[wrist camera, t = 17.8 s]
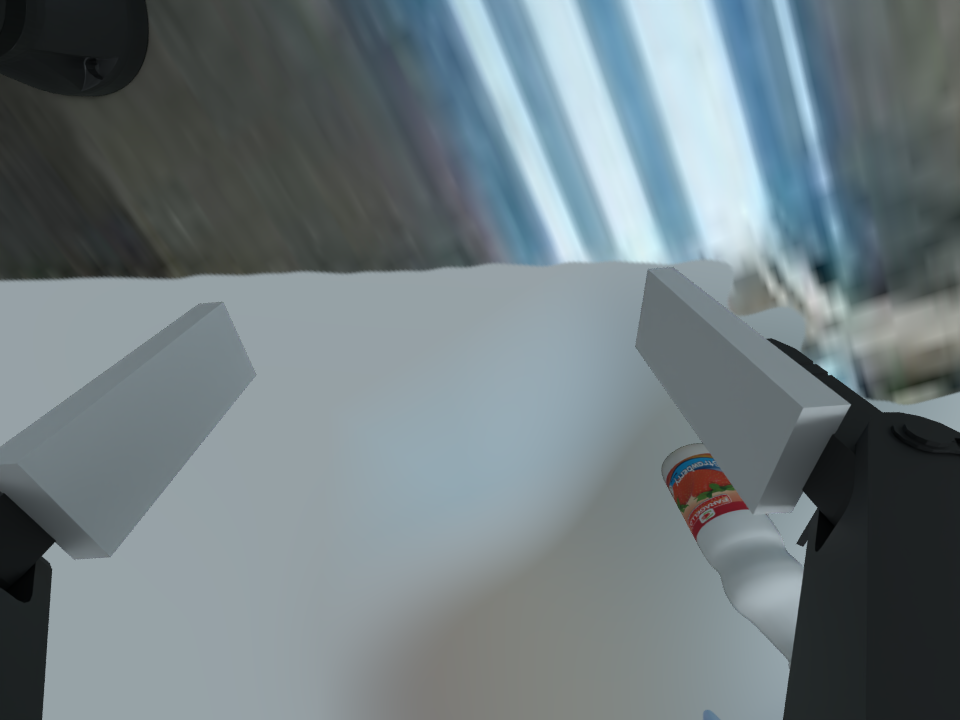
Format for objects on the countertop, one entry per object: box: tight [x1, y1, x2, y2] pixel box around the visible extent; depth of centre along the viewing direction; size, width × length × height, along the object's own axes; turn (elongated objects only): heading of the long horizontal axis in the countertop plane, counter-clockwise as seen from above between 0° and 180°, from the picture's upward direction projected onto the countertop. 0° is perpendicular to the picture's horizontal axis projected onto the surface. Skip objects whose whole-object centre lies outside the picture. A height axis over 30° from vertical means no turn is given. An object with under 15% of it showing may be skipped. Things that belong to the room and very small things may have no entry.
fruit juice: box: [662, 443, 804, 669], centre depth 50 cm, size 9×9×28 cm
